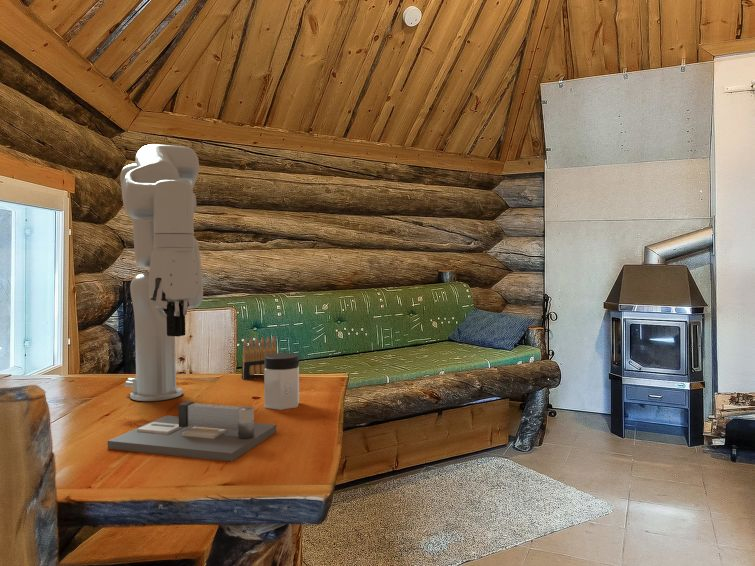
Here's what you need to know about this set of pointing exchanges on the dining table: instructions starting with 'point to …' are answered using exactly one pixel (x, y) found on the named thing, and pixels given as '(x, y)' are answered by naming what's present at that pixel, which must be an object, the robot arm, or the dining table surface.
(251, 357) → the ammunition clip
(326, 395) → the dining table surface
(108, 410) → the dining table surface
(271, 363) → the jar
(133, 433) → the label board
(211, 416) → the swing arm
